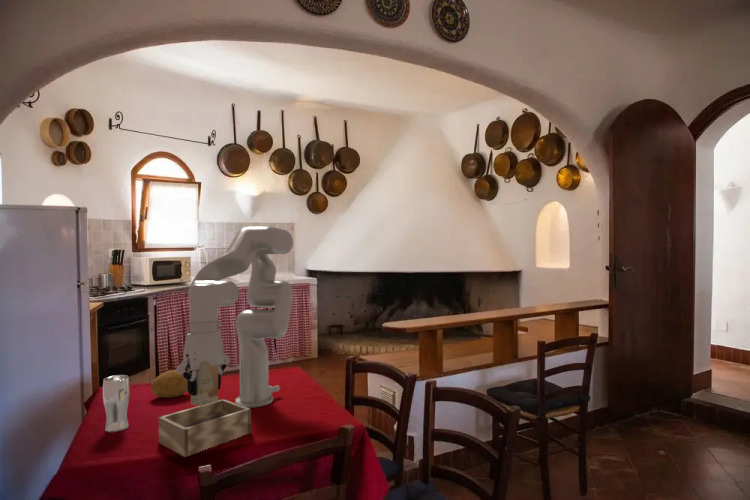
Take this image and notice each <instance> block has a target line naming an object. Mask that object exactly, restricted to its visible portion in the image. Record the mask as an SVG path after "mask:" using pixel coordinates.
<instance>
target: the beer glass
mask: <svg viewBox="0 0 750 500" xmlns="http://www.w3.org/2000/svg"><path fill="white" fill-rule="evenodd" d="M102 382H103V383H102V399H103V400H102V401H103V407H104V409H105V414H106V415H105V416H106V421H105V428H104V429H105V432H106V433H117V432H122V431H125V430H126V429H128V428H129V421H128V415H127V414H128V408H129V407H128V406H129V401H130V381H129V376H128V375H126V374H117V375H111V376H108V377H107V376H106V377H105V378H103V381H102Z"/></svg>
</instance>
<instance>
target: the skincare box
mask: <svg viewBox="0 0 750 500" xmlns="http://www.w3.org/2000/svg"><path fill="white" fill-rule="evenodd" d="M195 381H196V382H197V394H196V395H195V396H193V395H190V405H194V406H196V407H197V406H203V405H207V404H210V403H213V402H217V401H218V400H219V390H218V366H215V367H212V366H211V365H210V364H209V363H208V362H207V361H204V362H200V369H199V370H198V372H197V374H196V377H195Z"/></svg>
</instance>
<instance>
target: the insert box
mask: <svg viewBox="0 0 750 500" xmlns="http://www.w3.org/2000/svg"><path fill="white" fill-rule="evenodd" d="M251 411H252V409H251V408H247V407H244V406H241V405H238V404H236V403H235V402H232V401H230V400H227V399H225V398H224V399H223V398H222V399H218V401H217V402H213V403H210V404H207V405H203V406H197V405H196V406H194V407H190V408H186V409H183V410H179V411H176V412H173V413H172V412H171V413H169V414H166V415H161V416H159V417H158V443H159V445H162V446H164V447H166V448H167V449H169V450H170V451H171V450H172V451H173V452H174V453H177V454H178V455H180V456H182V457H184V458H187V457H189V456H193V455H195V454H197V453H198V454H199V453H200V451H201V452H203V451H206V450H208V448H209V449H212V448H214V447H217V446H219V444H220V445H222V443H223V444H225V443H229V442H230V440H231V441H234V440H237V439H239V438H242V437H244V436H243V435H245V436H247V435H249V433H250V434H251V433H252V422H251V421H252V417H251V416H252V414H251ZM246 434H247V435H246ZM241 436H242V437H241ZM238 437H239V438H238ZM233 439H234V440H233ZM211 447H212V448H211ZM205 449H206V450H205ZM202 450H203V451H202Z"/></svg>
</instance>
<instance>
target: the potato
mask: <svg viewBox="0 0 750 500" xmlns="http://www.w3.org/2000/svg"><path fill="white" fill-rule="evenodd" d="M150 386H151V392H152V394H154V395H155V396H156V397H158V398H166V399H167V398H170V399H173V398H177V397H179V396H183V395H184V394H186V393H188V391H187V380H186V379H185V378H184V377H183V376H182V375H181V374H180V373H179V372H178V371H177V370H176V369H171V370H167V371H165V372H163V373H161V374H160V375H157V376H156V377H155V378H154V379H153V381H152V383H151V384H150Z"/></svg>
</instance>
